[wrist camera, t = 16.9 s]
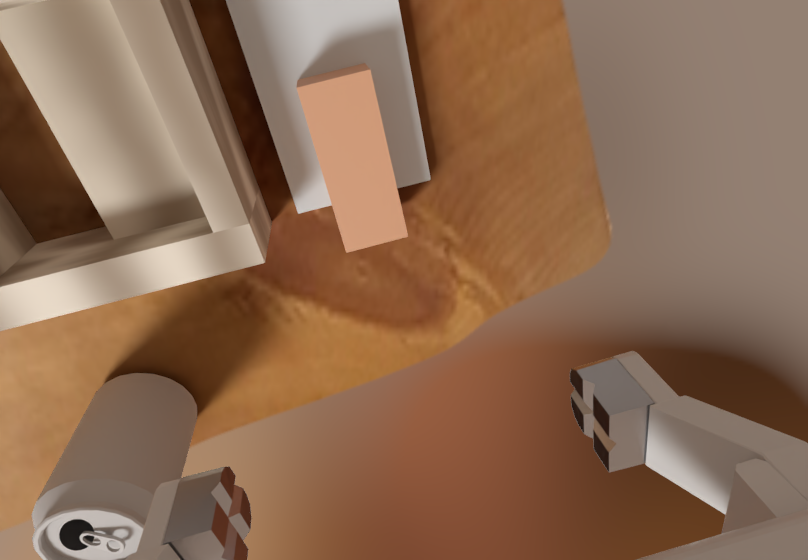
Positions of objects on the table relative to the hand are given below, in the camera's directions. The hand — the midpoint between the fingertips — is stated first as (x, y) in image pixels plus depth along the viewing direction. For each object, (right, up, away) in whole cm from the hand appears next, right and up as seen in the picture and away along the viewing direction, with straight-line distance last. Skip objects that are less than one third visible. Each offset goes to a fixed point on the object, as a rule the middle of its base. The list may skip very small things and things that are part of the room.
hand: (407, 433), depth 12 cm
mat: (-4, +15, +19) cm, 24 cm away
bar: (-3, +11, +20) cm, 23 cm away
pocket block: (-18, +13, +17) cm, 28 cm away
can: (-20, -6, +28) cm, 35 cm away
